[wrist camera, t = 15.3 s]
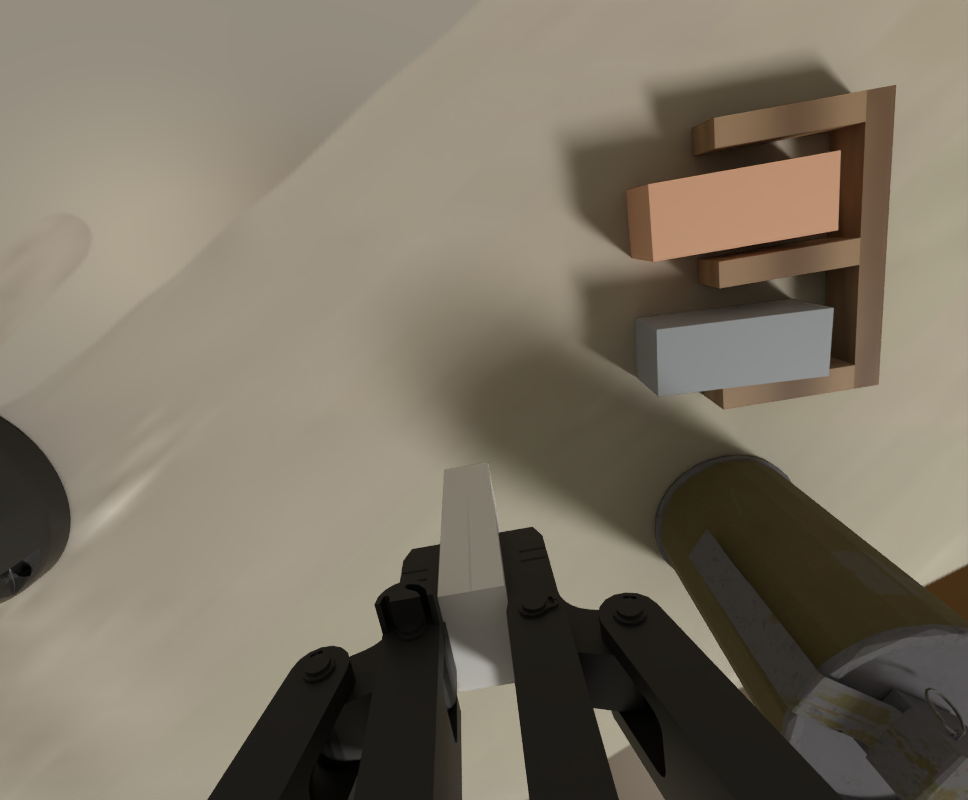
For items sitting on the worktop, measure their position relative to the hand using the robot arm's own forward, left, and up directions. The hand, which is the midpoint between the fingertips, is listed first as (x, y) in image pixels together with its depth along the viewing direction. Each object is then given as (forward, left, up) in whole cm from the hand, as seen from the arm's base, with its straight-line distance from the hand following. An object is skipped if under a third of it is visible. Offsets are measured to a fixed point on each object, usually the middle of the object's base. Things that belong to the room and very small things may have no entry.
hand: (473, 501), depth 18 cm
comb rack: (+19, +4, -18) cm, 26 cm away
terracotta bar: (+16, +7, -18) cm, 25 cm away
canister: (+16, -14, -18) cm, 28 cm away
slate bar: (+16, -1, -18) cm, 24 cm away
